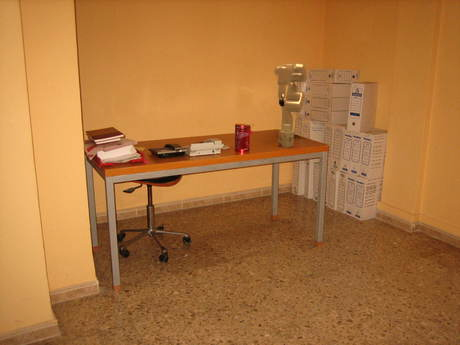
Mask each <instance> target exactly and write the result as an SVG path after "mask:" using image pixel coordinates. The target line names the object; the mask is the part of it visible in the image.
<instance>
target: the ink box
mask: <svg viewBox="0 0 460 345" xmlns="http://www.w3.org/2000/svg"><path fill="white" fill-rule="evenodd" d="M294 141H295V131H290V132H283V131H281V130H280V131H278V145H277V146H278V147H281V148H287V149H288V148H292V147H294V143H295V142H294Z"/></svg>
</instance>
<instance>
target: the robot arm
mask: <svg viewBox="0 0 460 345" xmlns="http://www.w3.org/2000/svg"><path fill="white" fill-rule="evenodd" d="M274 74H275V76H277V85H278V90H277V91H278V92H277V97H278V105H279V107H281V126H280V127H281V128H280V131H283V124H290V125H291V127H290V131H292V132H294V131H293V129H294V128H293V127H294V115H293V113H301V112H302V110H303V108H304V103H305V99H306V96H305V92H304V91H302V90H299V87H298V86H297V84H296V83H305V82H307V80H308V73H307V68H306V65H305V64H304V63H297V62H293V63H287V64H279V65H276V66H275V68H274ZM286 89H287V90H286Z"/></svg>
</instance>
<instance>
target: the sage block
mask: <svg viewBox="0 0 460 345" xmlns="http://www.w3.org/2000/svg"><path fill="white" fill-rule="evenodd" d="M290 127H291V125H290V124H283V132H290Z"/></svg>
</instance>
